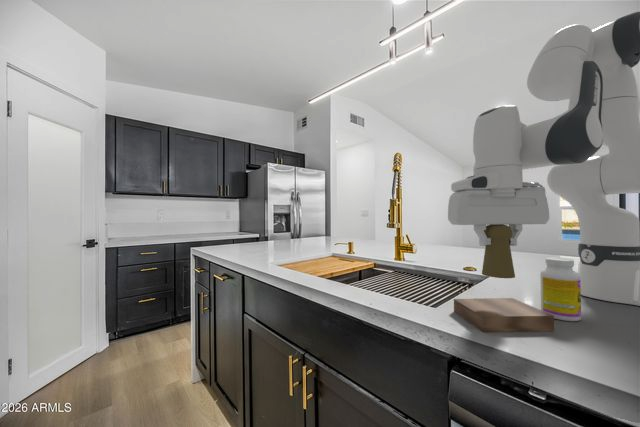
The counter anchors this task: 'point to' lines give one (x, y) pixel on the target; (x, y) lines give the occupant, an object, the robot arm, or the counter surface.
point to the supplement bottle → (561, 290)
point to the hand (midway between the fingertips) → (497, 245)
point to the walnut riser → (503, 315)
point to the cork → (498, 253)
